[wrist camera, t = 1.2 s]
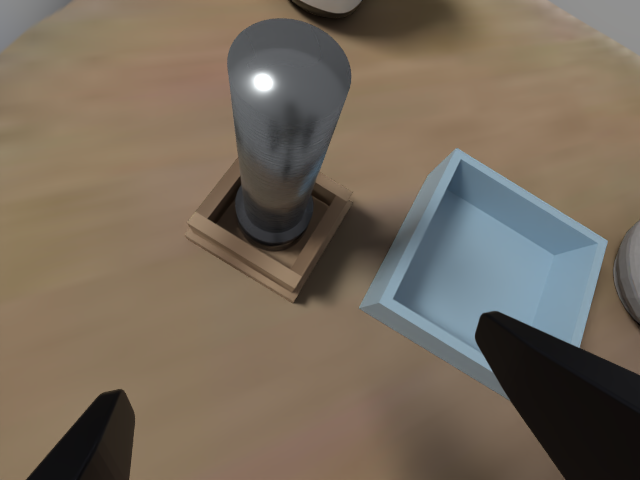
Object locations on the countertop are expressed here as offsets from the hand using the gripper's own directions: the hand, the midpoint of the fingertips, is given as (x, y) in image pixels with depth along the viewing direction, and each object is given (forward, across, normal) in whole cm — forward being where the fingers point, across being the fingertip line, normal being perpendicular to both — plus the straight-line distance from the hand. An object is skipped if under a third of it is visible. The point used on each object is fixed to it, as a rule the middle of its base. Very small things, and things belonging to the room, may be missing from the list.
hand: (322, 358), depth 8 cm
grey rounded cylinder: (+14, 0, +3) cm, 15 cm away
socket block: (+15, 0, +4) cm, 16 cm away
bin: (+11, -14, +8) cm, 19 cm away
